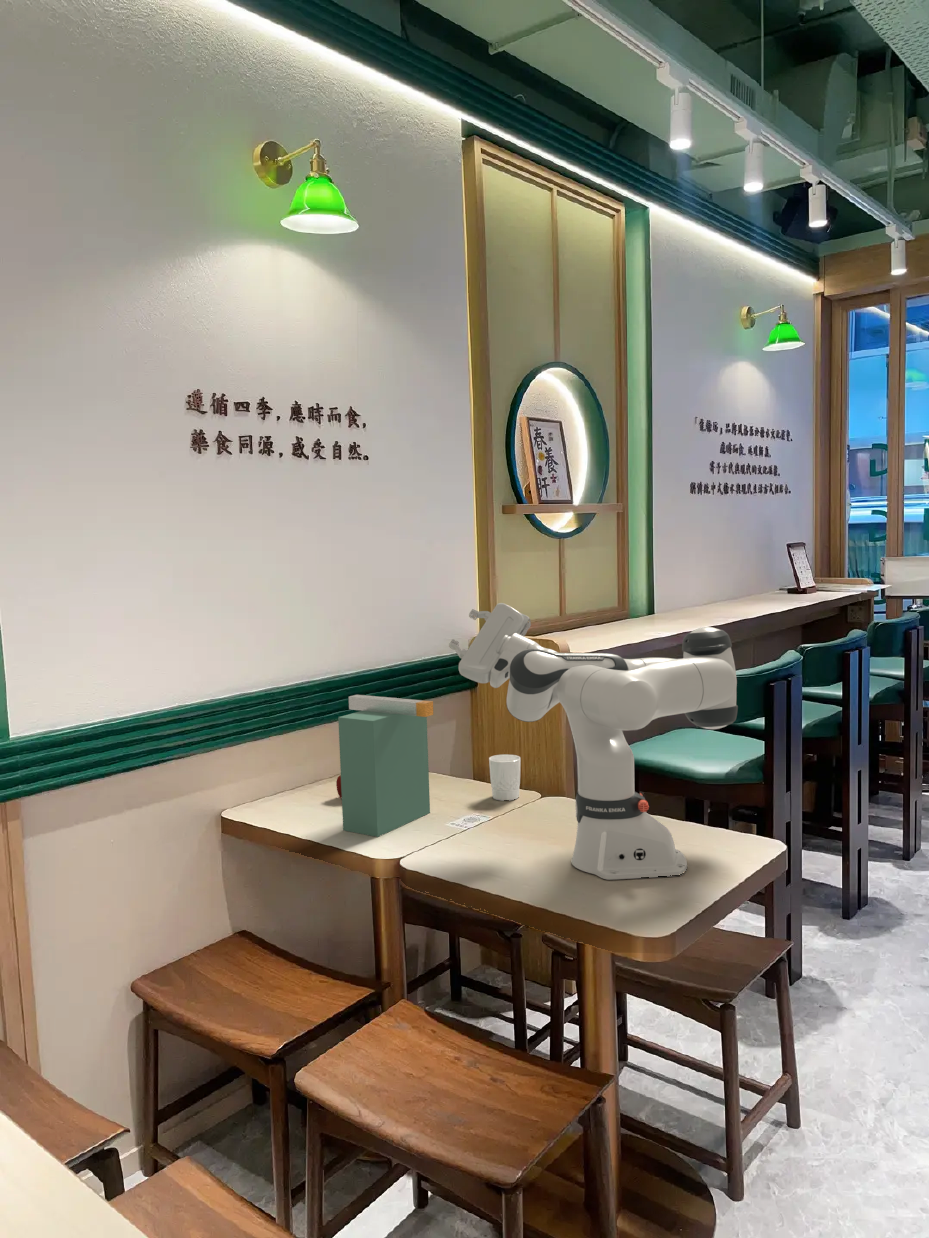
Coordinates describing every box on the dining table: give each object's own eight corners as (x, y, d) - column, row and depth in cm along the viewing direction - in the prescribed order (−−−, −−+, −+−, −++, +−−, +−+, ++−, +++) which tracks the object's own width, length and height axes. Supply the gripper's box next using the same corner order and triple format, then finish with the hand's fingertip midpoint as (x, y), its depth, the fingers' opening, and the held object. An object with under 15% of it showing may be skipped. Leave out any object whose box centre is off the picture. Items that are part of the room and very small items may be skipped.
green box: (430, 812, 222) (426, 705, 220) (377, 836, 206) (373, 720, 203) (396, 807, 228) (392, 702, 225) (343, 830, 211) (338, 717, 209)
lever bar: (433, 714, 208) (432, 701, 208) (425, 716, 206) (425, 703, 206) (357, 707, 220) (356, 694, 220) (349, 709, 218) (348, 696, 218)
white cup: (487, 801, 231) (486, 761, 230) (492, 792, 238) (491, 754, 237) (519, 801, 229) (518, 762, 228) (523, 793, 237) (522, 754, 236)
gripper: (535, 612, 213) (482, 587, 216) (493, 680, 203) (438, 653, 206) (533, 626, 218) (481, 602, 222) (492, 694, 208) (438, 667, 212)
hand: (460, 627), depth 214 cm, fingers open, 8 cm apart
